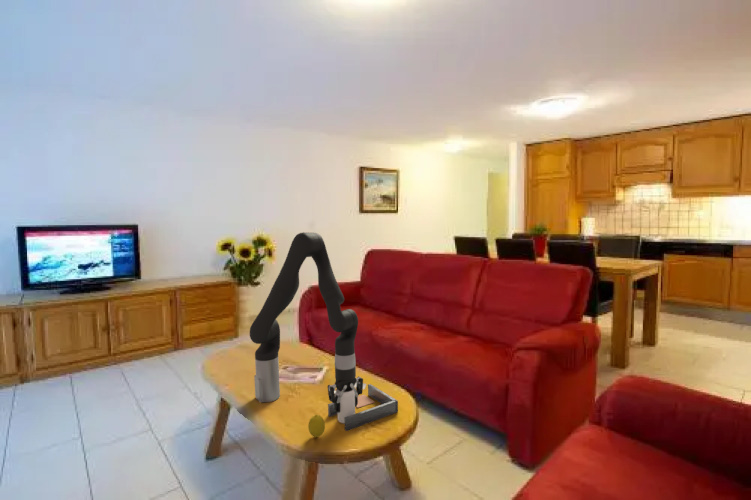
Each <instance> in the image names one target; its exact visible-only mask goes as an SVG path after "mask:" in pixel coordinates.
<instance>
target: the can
mask: <svg viewBox="0 0 751 500" xmlns="http://www.w3.org/2000/svg"><path fill="white" fill-rule="evenodd" d="M340 392H341V391H339V390H338V393H339V394H340ZM337 398H338V395H337ZM353 414H356V407H355V392H354V390H352V389H350V390H347V391H345V392H343V395H342V397H341V398H340V412H339V413H338V414H337V421H338V422H339V423H340V424H343V425H345V421H344V417H347V416H350V415H353Z"/></svg>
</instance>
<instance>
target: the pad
mask: <svg viewBox="0 0 751 500" xmlns="http://www.w3.org/2000/svg"><path fill="white" fill-rule="evenodd" d="M375 403H376V402H375V401H374V400H373V399H372V398H371V397H368V396H367V395H365V394H360V395H358V404H357V407H356V409H360V408H362V407H365V406H369V405H371V404H375Z"/></svg>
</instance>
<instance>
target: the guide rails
mask: <svg viewBox="0 0 751 500" xmlns="http://www.w3.org/2000/svg"><path fill="white" fill-rule="evenodd" d="M367 392H368V393H367V395H368V396H369V398H371V399H372V400H373V399H374V400H375V401H376V400H377V402H378V403H379V402H380V403H379V404H380V405H376V406H374V407H371V408H368V409H365V410H362V411H359V412H357V413H356V412H355V414H353V415H350V416H347V417H344V421H345V424H344V431H345V432H348V431H350V430H351V431H352V430H354V429H356V428H358V427H362V426H365V425H367V424H371V423H373V422H375V421H379V420H380V419H383V418H385V417H389V416H392V415H394V414H397V413H399V400H397V399H396V398H394V397H393V396H390V394H388V393H386V392H384V391H383V390H381V389H379V388H378V387H376V386H375V385H373V384H371V383H369V384H367ZM327 409H328V410H327V411H328V417H329V418H332V417H334V416H338V412H337V411H336V410H335V409H334V403H332V402H331V403H330V402H329V403H327Z"/></svg>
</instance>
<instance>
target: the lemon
mask: <svg viewBox="0 0 751 500" xmlns="http://www.w3.org/2000/svg"><path fill="white" fill-rule="evenodd" d="M325 425H326V424H325V419H324V417H323V416H321V415H320V414H314V415H312V416H311V418H310V419H309V421H308V427H307V428H308V431H309V434H310V435H311V436H312V437H315V438H318V437H321V436H322V435H323V434H324V432H325V428H326V426H325Z"/></svg>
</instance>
